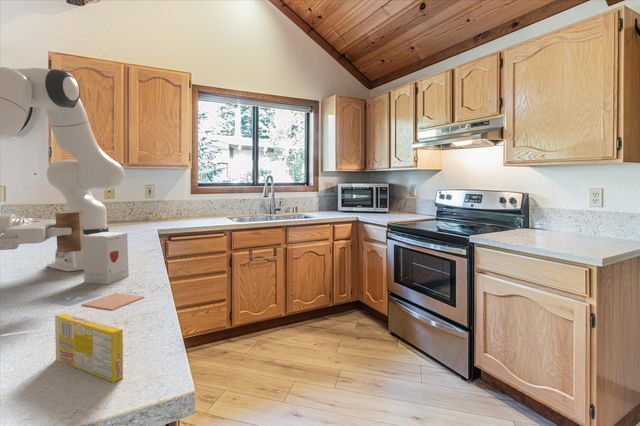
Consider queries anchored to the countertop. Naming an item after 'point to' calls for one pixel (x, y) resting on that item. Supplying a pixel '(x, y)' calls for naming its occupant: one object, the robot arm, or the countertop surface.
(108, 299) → the pad
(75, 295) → the grey square tile
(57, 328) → the candy box
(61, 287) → the countertop surface
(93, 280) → the supplement box
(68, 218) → the walnut block
